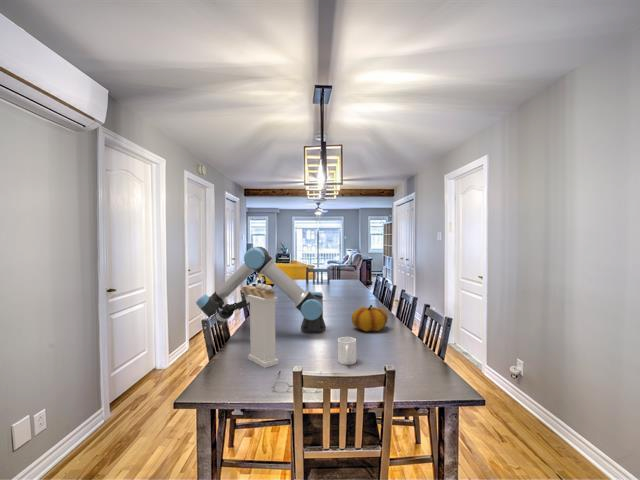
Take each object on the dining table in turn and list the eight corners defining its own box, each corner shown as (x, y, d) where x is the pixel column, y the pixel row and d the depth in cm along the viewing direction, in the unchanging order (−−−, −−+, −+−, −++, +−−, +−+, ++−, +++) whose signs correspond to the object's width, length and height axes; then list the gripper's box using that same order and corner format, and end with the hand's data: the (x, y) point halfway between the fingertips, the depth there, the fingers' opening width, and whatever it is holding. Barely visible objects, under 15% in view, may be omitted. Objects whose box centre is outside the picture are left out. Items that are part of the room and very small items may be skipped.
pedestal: (278, 363, 157) (277, 297, 156) (264, 367, 152) (263, 299, 152) (261, 355, 168) (260, 293, 168) (248, 358, 164) (247, 295, 163)
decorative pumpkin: (370, 323, 226) (369, 299, 226) (395, 330, 207) (394, 305, 207) (345, 328, 215) (345, 303, 215) (369, 336, 196) (369, 310, 196)
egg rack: (274, 297, 155) (274, 284, 155) (266, 299, 153) (266, 285, 153) (248, 291, 174) (248, 279, 174) (241, 292, 171) (241, 280, 171)
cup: (356, 358, 162) (355, 336, 162) (356, 368, 150) (356, 345, 150) (338, 358, 163) (338, 336, 163) (337, 368, 151) (337, 344, 151)
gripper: (247, 315, 198) (263, 301, 184) (203, 322, 182) (217, 308, 168) (243, 303, 201) (259, 288, 186) (201, 309, 185) (214, 293, 171)
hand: (239, 297), depth 177 cm, fingers open, 13 cm apart
